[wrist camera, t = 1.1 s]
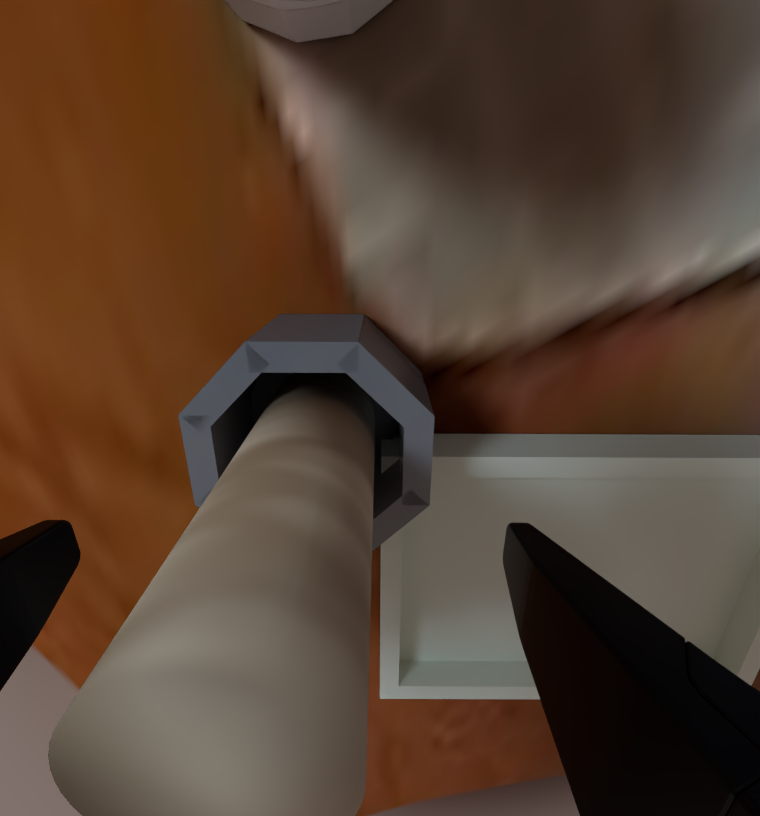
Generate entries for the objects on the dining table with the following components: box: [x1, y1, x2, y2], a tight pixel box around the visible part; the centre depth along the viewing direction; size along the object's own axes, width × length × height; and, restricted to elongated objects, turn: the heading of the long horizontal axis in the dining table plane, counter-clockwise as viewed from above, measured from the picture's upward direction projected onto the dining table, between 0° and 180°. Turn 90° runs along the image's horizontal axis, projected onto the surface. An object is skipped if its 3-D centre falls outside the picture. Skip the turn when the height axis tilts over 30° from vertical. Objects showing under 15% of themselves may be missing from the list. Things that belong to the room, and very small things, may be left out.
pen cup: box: [178, 314, 435, 551], centre depth 14 cm, size 7×7×4 cm
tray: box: [380, 433, 760, 699], centre depth 17 cm, size 16×12×2 cm
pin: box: [48, 373, 376, 816], centre depth 10 cm, size 4×4×11 cm
